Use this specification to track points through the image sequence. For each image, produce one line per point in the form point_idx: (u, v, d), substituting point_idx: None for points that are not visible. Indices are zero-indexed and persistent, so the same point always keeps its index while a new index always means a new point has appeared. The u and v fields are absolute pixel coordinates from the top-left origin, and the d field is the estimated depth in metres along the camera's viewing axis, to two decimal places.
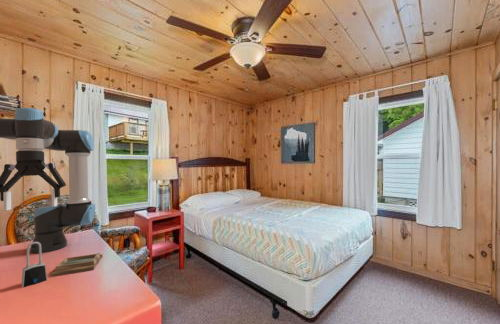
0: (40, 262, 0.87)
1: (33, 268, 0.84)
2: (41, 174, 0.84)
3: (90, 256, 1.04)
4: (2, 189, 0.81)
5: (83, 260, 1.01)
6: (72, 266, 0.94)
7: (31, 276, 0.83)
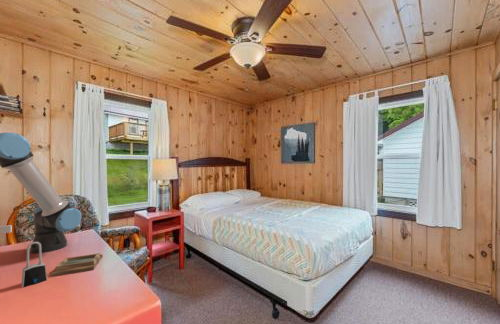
0: (40, 262, 0.87)
1: (33, 268, 0.84)
2: None
3: (90, 256, 1.04)
4: None
5: (83, 260, 1.01)
6: (72, 266, 0.94)
7: (31, 276, 0.83)
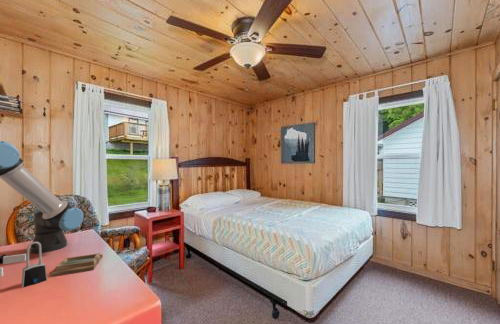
0: (40, 262, 0.87)
1: (33, 268, 0.84)
2: None
3: (90, 256, 1.04)
4: None
5: (83, 260, 1.01)
6: (72, 266, 0.94)
7: (31, 276, 0.83)
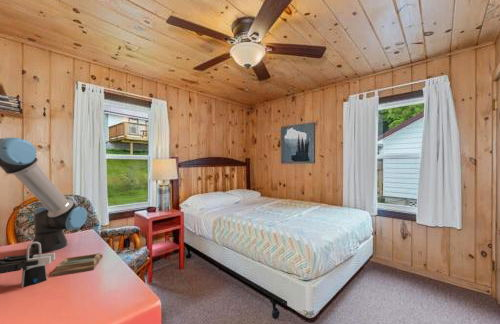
0: None
1: (33, 268, 0.84)
2: None
3: (90, 256, 1.04)
4: None
5: (83, 260, 1.01)
6: (72, 266, 0.94)
7: (31, 276, 0.83)
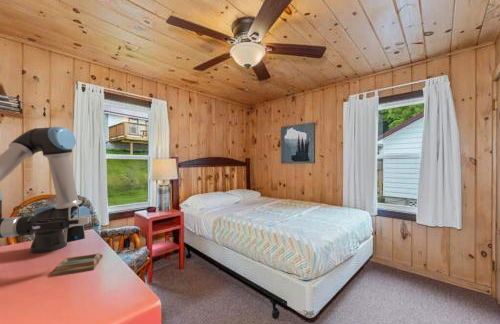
0: None
1: (74, 227, 0.96)
2: None
3: (90, 256, 1.04)
4: None
5: (83, 260, 1.01)
6: (72, 266, 0.94)
7: (72, 234, 0.96)
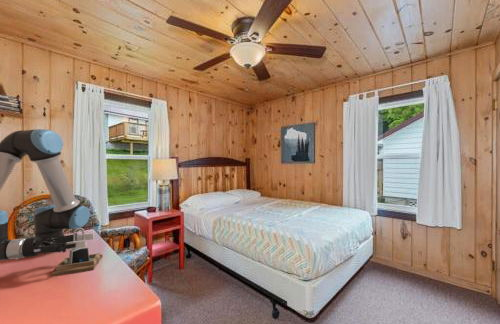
0: None
1: (79, 250, 0.98)
2: None
3: (90, 256, 1.04)
4: None
5: None
6: (72, 266, 0.94)
7: (77, 257, 0.97)
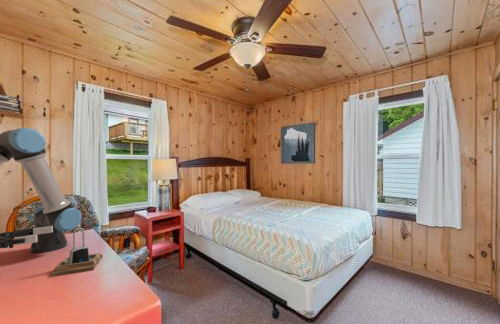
0: (83, 245, 1.00)
1: (79, 250, 0.98)
2: None
3: (90, 256, 1.04)
4: None
5: None
6: (72, 266, 0.94)
7: (77, 257, 0.97)
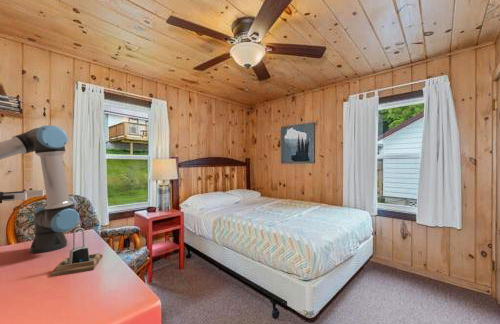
0: (83, 245, 1.00)
1: (79, 250, 0.98)
2: None
3: (90, 256, 1.04)
4: None
5: None
6: (72, 266, 0.94)
7: (77, 257, 0.97)
